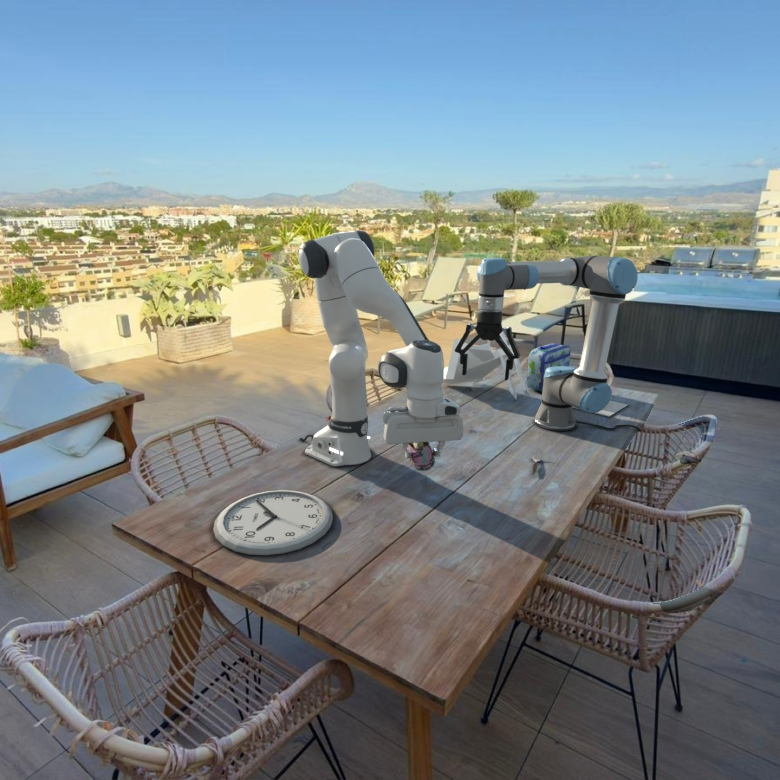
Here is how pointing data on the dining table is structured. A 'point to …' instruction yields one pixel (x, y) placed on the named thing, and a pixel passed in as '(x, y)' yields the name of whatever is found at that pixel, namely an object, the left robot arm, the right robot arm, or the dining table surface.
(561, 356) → the lunch box
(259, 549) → the wall clock
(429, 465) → the shoe
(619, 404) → the invitation card
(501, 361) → the white plastic object
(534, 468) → the fork
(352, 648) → the dining table surface
